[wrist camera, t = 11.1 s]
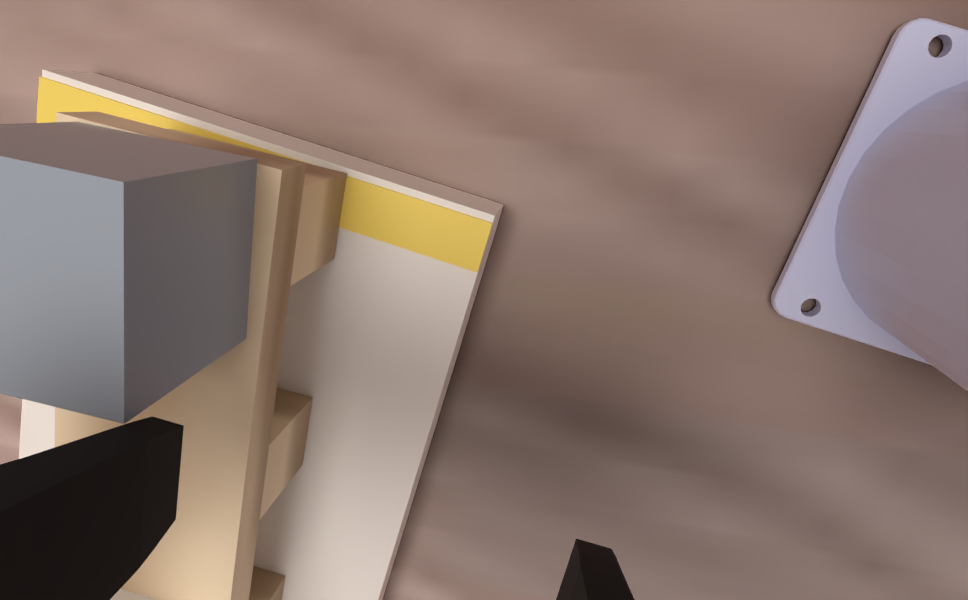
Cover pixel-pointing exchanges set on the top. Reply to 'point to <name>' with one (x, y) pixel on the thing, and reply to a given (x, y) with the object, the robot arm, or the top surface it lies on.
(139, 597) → the greyish beige cube
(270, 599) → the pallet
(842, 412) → the top surface
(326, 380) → the dock
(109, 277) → the pale grey square box
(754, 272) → the top surface
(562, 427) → the top surface
